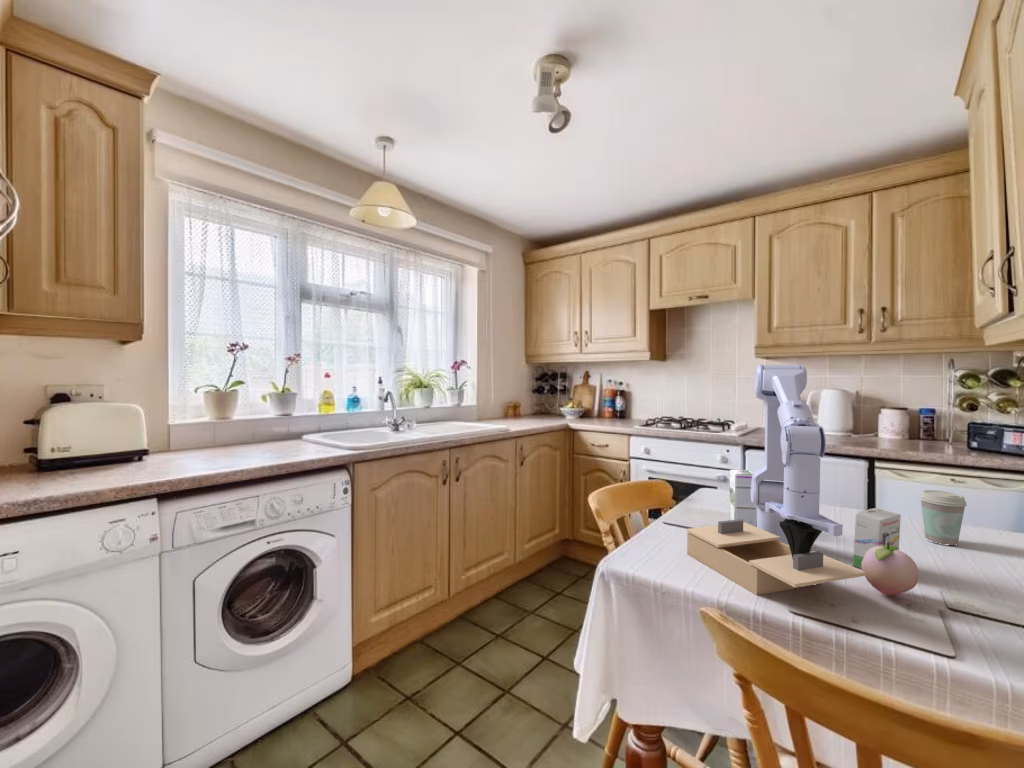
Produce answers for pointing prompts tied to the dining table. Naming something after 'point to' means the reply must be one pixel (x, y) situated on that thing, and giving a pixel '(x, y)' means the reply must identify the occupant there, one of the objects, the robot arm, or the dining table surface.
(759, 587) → the carton
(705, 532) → the lid panel
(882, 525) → the ink box
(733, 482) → the white printed box
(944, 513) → the coffee cup
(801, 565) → the lid panel
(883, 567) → the decorative fruit
